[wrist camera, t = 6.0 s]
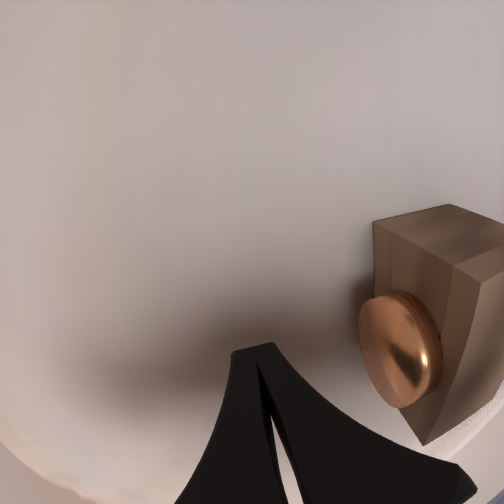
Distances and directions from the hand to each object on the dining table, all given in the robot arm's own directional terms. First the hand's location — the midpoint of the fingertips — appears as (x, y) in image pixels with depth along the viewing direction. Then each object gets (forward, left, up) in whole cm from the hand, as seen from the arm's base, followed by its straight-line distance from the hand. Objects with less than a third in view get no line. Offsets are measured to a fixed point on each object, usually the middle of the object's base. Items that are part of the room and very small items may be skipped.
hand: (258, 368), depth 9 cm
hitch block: (-7, 0, -1) cm, 7 cm away
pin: (-7, 0, -1) cm, 7 cm away
